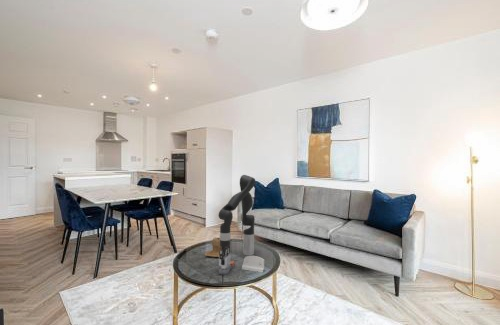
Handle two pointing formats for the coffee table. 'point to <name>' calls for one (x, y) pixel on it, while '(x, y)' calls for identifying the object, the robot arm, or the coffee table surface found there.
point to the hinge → (254, 263)
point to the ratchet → (226, 268)
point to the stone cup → (215, 248)
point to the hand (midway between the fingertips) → (224, 263)
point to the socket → (225, 260)
